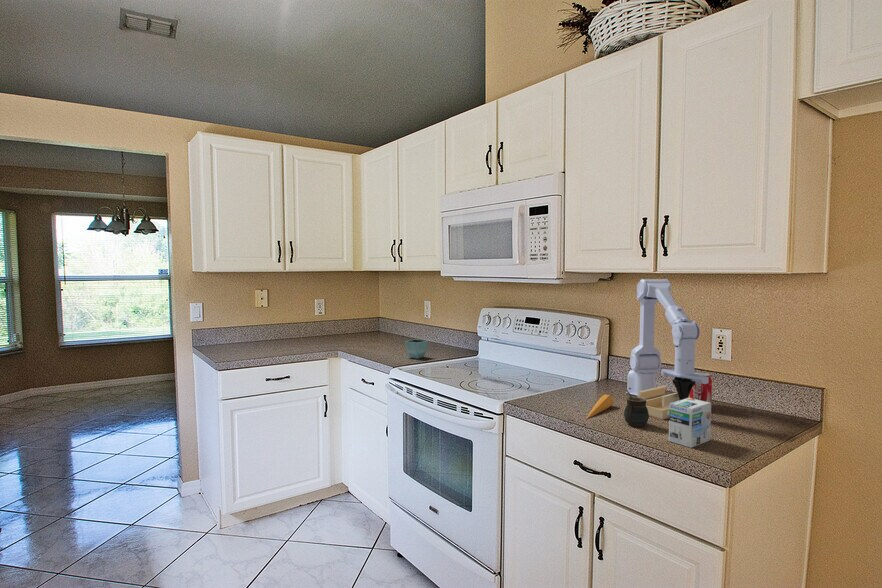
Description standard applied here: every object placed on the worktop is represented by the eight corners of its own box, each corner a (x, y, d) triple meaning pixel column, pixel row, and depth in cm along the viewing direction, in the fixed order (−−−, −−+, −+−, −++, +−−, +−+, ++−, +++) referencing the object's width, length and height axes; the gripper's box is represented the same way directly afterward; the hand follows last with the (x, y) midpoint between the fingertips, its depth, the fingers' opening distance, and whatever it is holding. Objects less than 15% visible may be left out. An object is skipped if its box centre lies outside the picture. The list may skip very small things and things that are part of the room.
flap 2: (661, 396, 158) (663, 396, 157) (687, 389, 166) (689, 390, 165) (661, 406, 158) (664, 406, 157) (687, 399, 166) (689, 399, 165)
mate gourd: (640, 430, 147) (640, 396, 147) (617, 423, 153) (617, 391, 153) (653, 425, 151) (654, 392, 151) (631, 419, 158) (631, 388, 157)
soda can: (684, 408, 169) (685, 373, 169) (692, 404, 174) (693, 370, 174) (707, 412, 164) (708, 376, 164) (714, 408, 169) (715, 373, 169)
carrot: (605, 406, 174) (600, 394, 175) (617, 403, 172) (611, 391, 172) (583, 427, 159) (577, 413, 159) (595, 424, 156) (589, 410, 157)
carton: (634, 411, 165) (634, 403, 165) (662, 404, 174) (662, 395, 174) (662, 419, 157) (662, 410, 157) (690, 411, 166) (690, 402, 166)
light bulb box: (691, 448, 133) (692, 408, 132) (667, 441, 138) (668, 403, 137) (711, 440, 139) (712, 402, 138) (687, 433, 144) (688, 397, 144)
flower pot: (404, 358, 261) (404, 341, 260) (415, 355, 268) (415, 339, 267) (417, 360, 255) (417, 342, 255) (428, 357, 262) (428, 340, 262)
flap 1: (667, 386, 172) (665, 385, 172) (641, 392, 164) (639, 391, 164) (663, 394, 173) (661, 393, 173) (638, 400, 165) (636, 399, 165)
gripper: (656, 357, 162) (655, 398, 163) (700, 364, 150) (699, 409, 151) (668, 355, 166) (667, 395, 167) (712, 362, 154) (711, 405, 155)
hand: (683, 401), depth 159 cm, fingers closed
